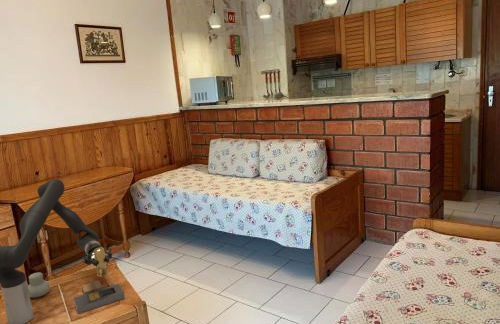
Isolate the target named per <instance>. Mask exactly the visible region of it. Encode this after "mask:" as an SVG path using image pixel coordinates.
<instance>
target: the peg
mask: <svg viewBox="0 0 500 324" xmlns="http://www.w3.org/2000/svg"><path fill="white" fill-rule="evenodd" d="M104 250H105V248H104V247H103V246H102V247H99V248H96V249H94V256H95V260H96V262H97V266H95V267H96V275H97V277H104V276H106V275H108V273H109V272H108V267H107V262H106V258H105V252H104Z"/></svg>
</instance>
